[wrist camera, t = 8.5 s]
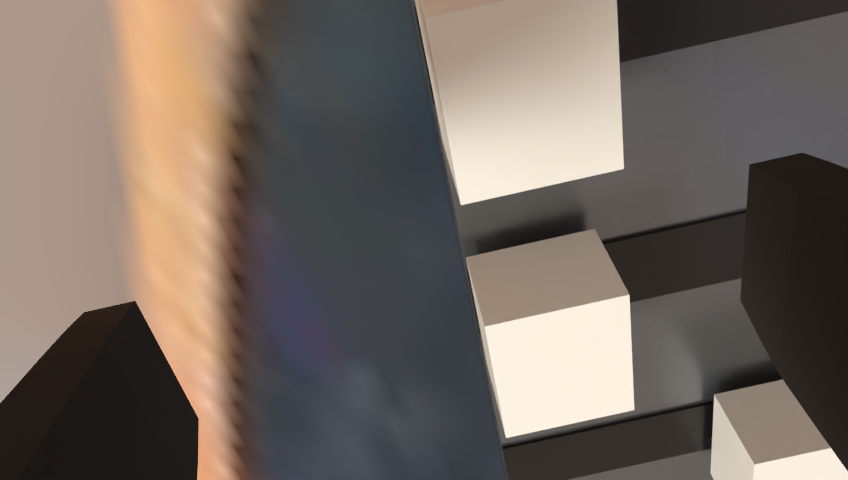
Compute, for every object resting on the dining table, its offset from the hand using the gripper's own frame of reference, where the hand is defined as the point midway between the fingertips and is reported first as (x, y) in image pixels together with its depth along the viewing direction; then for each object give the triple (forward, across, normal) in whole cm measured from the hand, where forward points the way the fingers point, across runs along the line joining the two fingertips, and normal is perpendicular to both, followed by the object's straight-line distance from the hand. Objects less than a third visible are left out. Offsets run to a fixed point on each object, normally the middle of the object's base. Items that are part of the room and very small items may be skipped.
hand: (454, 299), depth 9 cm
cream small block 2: (+7, -2, +6) cm, 10 cm away
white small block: (+7, -8, +13) cm, 17 cm away
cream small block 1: (+7, -2, 0) cm, 7 cm away
